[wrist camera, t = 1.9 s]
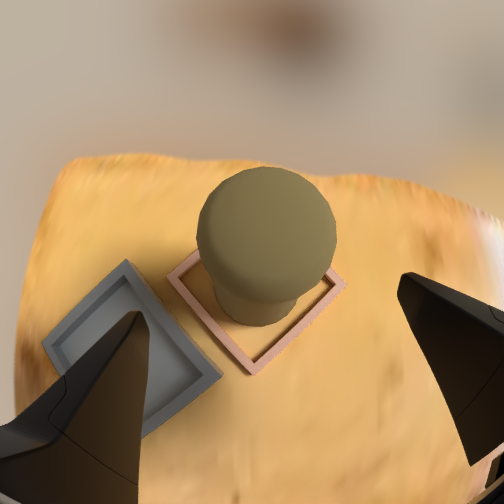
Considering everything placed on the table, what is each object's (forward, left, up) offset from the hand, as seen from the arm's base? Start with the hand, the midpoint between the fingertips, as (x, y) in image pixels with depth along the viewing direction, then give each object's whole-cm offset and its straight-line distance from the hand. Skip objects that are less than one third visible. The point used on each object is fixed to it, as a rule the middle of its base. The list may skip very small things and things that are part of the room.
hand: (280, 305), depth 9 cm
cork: (+2, -2, -10) cm, 11 cm away
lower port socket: (+4, +9, -10) cm, 14 cm away
